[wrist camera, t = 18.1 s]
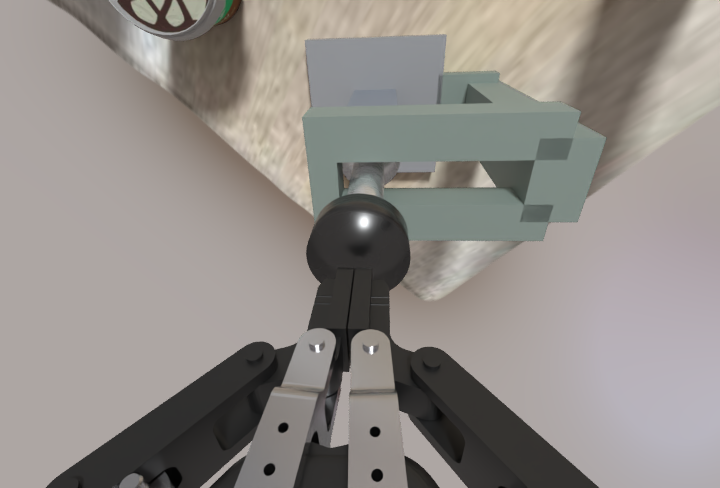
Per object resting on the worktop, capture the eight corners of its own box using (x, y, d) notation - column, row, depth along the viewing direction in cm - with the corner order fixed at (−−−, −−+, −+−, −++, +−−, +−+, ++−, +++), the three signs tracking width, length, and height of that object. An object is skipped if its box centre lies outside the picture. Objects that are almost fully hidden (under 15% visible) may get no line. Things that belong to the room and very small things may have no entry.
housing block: (395, 89, 42) (397, 108, 33) (394, 131, 45) (397, 159, 36) (354, 90, 42) (345, 109, 33) (356, 132, 45) (348, 160, 36)
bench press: (505, 32, 40) (638, 44, 19) (483, 166, 48) (558, 277, 27) (308, 39, 42) (228, 59, 21) (320, 167, 50) (273, 274, 29)
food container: (199, 58, 43) (154, 67, 35) (162, 7, 41) (104, 3, 32) (276, -3, 39) (247, -9, 31) (241, -64, 37) (198, -89, 28)
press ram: (400, 122, 29) (412, 212, 15) (398, 179, 31) (408, 298, 18) (339, 123, 29) (300, 212, 16) (343, 179, 32) (312, 297, 18)
